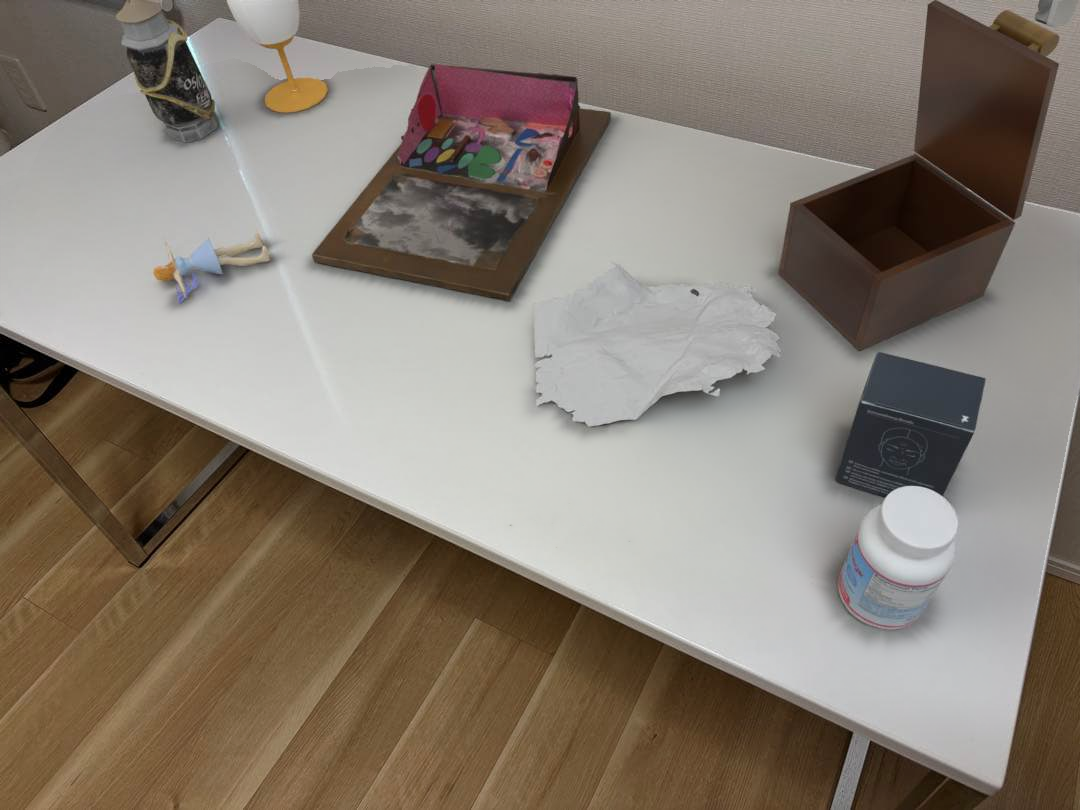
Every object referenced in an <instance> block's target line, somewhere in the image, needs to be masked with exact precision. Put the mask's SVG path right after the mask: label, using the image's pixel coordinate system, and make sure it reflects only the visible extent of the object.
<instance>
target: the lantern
mask: <svg viewBox="0 0 1080 810" xmlns="http://www.w3.org/2000/svg"><path fill="white" fill-rule="evenodd" d="M162 10H163V6H162V4H161V3H159V2H155V1H150V0H125V3H124V5H123V7H122V8H121V9H120V10H119V11H118V13H117V14H116V15H115V19H116V20H117V21H119V23H120V24H121V27H122V29H123V32H124V34H123V35H122V38H121V42H120V43H121V46H123V47H126V58H127V60H128V62H129V65H130V67H131V68H132V71H133V76H134V80H135V83H136V85H137V86H138V88H139V89H140V90H139V91H140V93H141V94H142V95H144V96H145V98H146V100H147V102H148V104H149V106H150V109H151V111H152V113H153V115H154V116H155V118H156V119H158V120H159V121H161V122H162V124H163V125H164V126H165V129H166V132H167V134H168V136H169V138H171V139H173V140H176V141H179V142H182V143H190V142H195V141H199V140H203V139H204V138H205V137H207V136H208V135H209V134H211V133H212V132H214V131H215V130H216V129H218V121H219V120H218V117H217V115H216V112H215V111H216V101H215V99H213V98H212V94H211V91H210V89H209V88H208V86H207V83H206V81H205V79H204V77H203V74H202V72H201V71H200V68H199V66H198V64H197V62H196V60H195V58H194V56H193V54H192V51H191V50H190V47H189V45H188V42H187V41H188V34H187V33H186V31H185V30H184V28H183V27H182V26H181V25H180V24H178V23H177V22H175V21H174V20H171V19H167V18H166V16H165V14H164V11H162Z"/></svg>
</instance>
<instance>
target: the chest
mask: <svg viewBox="0 0 1080 810" xmlns="http://www.w3.org/2000/svg"><path fill="white" fill-rule="evenodd" d="M1015 225H1016V222H1015V220H1013V219H1011V218H1010V217H1008V216H1007V215H1006V214H1004V213H1003V212H1001V211H1000V210H998V209H997V208H995V207H994V206H993V205H991V204H990V203H988V202H987V201H985V200H984V199H982V198H981V197H980V196H978V195H977V194H975V193H974V192H972V191H971V190H969V189H968V188H967V187H965V186H964V185H962V184H961V183H959V182H958V181H956V180H955V179H954V178H952V177H951V176H949V175H948V174H946V173H945V172H943V171H942V170H941V169H939V168H938V167H936V166H935V165H933V164H932V163H930V162H929V161H928V160H926V159H925V158H923V157H922V156H920V155H919V154H917V153H913V154H911V155H909V156H906V157H903V158H901V159H898V160H896V161H893V162H890V163H889V164H886V165H884V166H881V167H878V168H876V169H873V170H871V171H868V172H866V173H862V174H860V175H857V176H855V177H853V178H850V179H847V180H846V181H842V182H839V183H838V184H835V185H832V186H830V187H828V188H827V187H826V188H825V189H823V190H820V191H817V192H815V193H812V194H809V195H807V196H805V197H802V198H800V199H797V200H794V201H792V202H790V204H789V210H788V217H787V223H786V227H785V232H784V238H783V243H782V244H783V245H782V249H781V256H780V261H779V267H778V273H777V274H778V275H779V276H780V277H781V278H782V279H783V280H784V281H785V282H787V284H788V285H790V286H791V288H793V289H794V290H795V291H796V292H797V293H798V294H799V295H800V296H801V297H802V298H803V299H804V300H805V301H806V302H807V303H808V304H809V305H810V306H812V307H813V309H814V310H815V311H816V312H818V313H819V314H820V315H821V316H822V317H823V318H824V319H825V320H826V321H827V322H828V323H829V324H830V325H831V326H832V327H833V328H834V329H835V330H836V331H837V332H838V333H839V334H840V335H842V336H843V337H844V338H845V340H847V341H848V342H849V343H850V344H851V345H852V346H853V347H854V348H855V349H856V350H857V351H858V352H861V351H863V350H865V349H868V348H870V347H872V346H874V345H876V344H879V343H882V342H883V341H885V340H889V339H890V338H892V337H894V336H896V335H899V334H901V333H904V332H906V331H908V330H910V329H912V328H914V327H917V326H919V325H922V324H924V323H926V322H928V321H931V320H934V319H935V318H936V317H939V316H942V315H944V314H946V313H948V312H952V310H955V309H957V308H959V307H962V306H964V305H966V304H968V303H971V302H972V301H975V300H977V299H979V298H982V297H984V295H985V293H986V291H987V288H988V286H989V284H990V282H991V280H992V277H993V275H994V272H995V271H996V269H997V266H998V263H999V262H1000V259H1001V257H1002V254H1003V252H1004V250H1005V248H1006V246H1007V243H1008V242H1009V239H1010V238H1011V237H1010V236H1011V234H1012V232H1013V230H1014V228H1015Z"/></svg>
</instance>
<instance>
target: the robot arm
mask: <svg viewBox="0 0 1080 810" xmlns="http://www.w3.org/2000/svg"><path fill="white" fill-rule="evenodd" d="M1078 1H1079V0H1039V1H1038V4H1037V9H1038V11H1036V13H1035V15H1034V21H1036V22H1038V23H1041V24H1043V25H1046V26H1048V27H1051V28H1054V29H1057V28H1059V27H1061V26H1063V25H1065V24H1068V23H1069V22H1070V21H1071V20H1072V19H1073V17H1074V15H1075V11H1076V9H1077V5H1078Z"/></svg>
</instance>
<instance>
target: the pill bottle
mask: <svg viewBox="0 0 1080 810" xmlns="http://www.w3.org/2000/svg"><path fill="white" fill-rule="evenodd" d="M958 530H959V519H958V515H957V513H956V511H955V509H954V507H953V506H952V504H951V503H950V502H949V500H947V499H946V498H945V497H944V496H941V495H940V494H938V493H936V492H934V491H932V490H930V489H927V488H924V487H919V486H905V487H900V488H897V489H895V490H893V491H892V492H891V493H889V494H888V495H887V496H886V497H884V499H883V501H882V503H880V504H879V505H876V506H874V507H872V509H871V510H869V512H867V514H866V515H865V516H864V517H863V519H862V521H861V523H860V525H859V527H858V529H857V531H856V533H855V534H856V535H855V536H854V539H853V541H852V544H851V546H850V548H849V551H848V553H847V556H846V558H845V560H844V563H843V564H842V568H841V570H840V573H839V576H838V581H837V582H838V583H837V588H838V589H837V590H838V594H839V597H840V600H841V602H842V603H843V605H844V607H845V608H846V610H847V611H848V612H849V613H850V614H851V615H852V616H853V617H855V618H856V619H857V620H859V621H861V622H862V623H864V624H866V625H868V626H871V627H874V628H878V629H881V630H901V629H904V628H908V627H909V626H911V625H912V624H914V623H915V622H916V621H918V619H920V617H921V616H922V615H923V613H924V612H925V610H926V608H927V606H928V605H929V603H930V601H931V600H932V598H933V597H934V595H935V594H936V593H937V591H938V589H939V588H940V586H941V584H942V583H943V581H944V579H945V578H946V577H947V576H948V575H947V574H948V573H949V571H950V570H951V568H952V566H953V564H954V563H955V558H956V553H957V546H956V545H957V544H956V540H955V537H956V535H957V533H958Z"/></svg>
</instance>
